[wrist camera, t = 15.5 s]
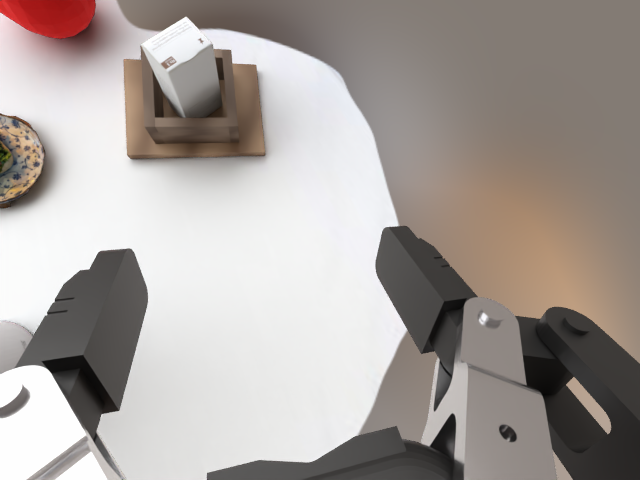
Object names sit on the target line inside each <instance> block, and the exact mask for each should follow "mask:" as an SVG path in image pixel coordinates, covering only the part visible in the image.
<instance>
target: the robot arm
mask: <svg viewBox="0 0 640 480" xmlns="http://www.w3.org/2000/svg"><path fill="white" fill-rule="evenodd" d="M376 273H377V276H378V278H379V280H380V282H381V284H382V285H383V287H384V289H385V291H386V293H387V294H388V296H389V298H390V300H391V301H392V303H393V305H394V307H395V308H396V310H397V312H398V314H399V315H400V317H401V319H402V321H403V323H404V324H405V326H406V328H407V330H408V331H409V333H410V335H411V337H412V338H413V340H414V342H415V344H416V345H417V347H418V349H419V351H420V352H421V354H423V353H428V352H433V351H435V352H436V354H437V356H438V359H437V361H436V365H435V372H434V380H433V388H432V394H431V401H430V409H429V415H428V421H427V424H426V427H425V430H424V433H423V437H422V440H421V443H419V442H415V441H410V440H406V439H401V436H400V433H399V431H398V428H397V426H395V427H391V428H387V429H383V430H379V431H375V432H371V433H367V434H363V435H359V436H355V437H353V438H352V439H350V440H348V441H347V442H345V443H343V444H342V445H340V446H338V447H337V448H335V449H334V450H332V451H330V452H329V453H327V454H325V455H324V456H322V457H320V458H319V459H317V460H315V461H313V462H309V463H303V462H283V461H264V460H258V461H254V462H250V463H246V464H242V465H238V466H234V467H230V468H226V469H222V470H218V471H214V472H210V473H207V480H557V475H556V469H555V463H554V457H553V451H554V452H555V454H556V455H557V457H558V458H559V460H560V461H561V463H562V464H563V465H564V467H565V468H566V470H567V471H568V473H569V474H570V476H571V477H572V479H573V480H640V364H639V363H638V362H637V361H636V360H635V359H634V358H633V357H632V356H631V355H629V354H628V353H627V352H626V351H625V350H624V349H623V348H622V347H621V346H619V345H618V344H617V343H616V342H615V341H614V340H613V339H612V338H611V337H610V336H608V335H607V334H606V333H605V332H604V331H603V330H602V329H601V328H600V327H598V326H597V325H596V324H595V323H594V322H593V321H592V320H590V319H589V318H587V317H586V316H584V315H582V314H580V313H578V312H576V311H574V310H571V309H568V308H563V307H552V308H549V309H548V310H547V311H546V312H545V313H544V315H543V316H542V318H541V319H536V318H528V317H520V316H514V314H513V313H512V312H511V311H510V310H509V309H508V308H506V307H505V306H503V305H502V304H500V303H498V302H496V301H494V300H491V299H488V298H482V297H478V296H477V295H476V294H475V293H474V292H473V291H472V290H471V288H470V287H469V286H468V285H467V284H466V283H465V282H464V281H463V279H462V278H461V277H460V276H459V275H458V274H457V272H456V271H455V270H454V269H453V268H452V267H450V265H449V263H448V262H447V261H446V260H445V259H443V258H442V255H441V254H440V253H439V252H438V251H437V250H436V249H435V247H434V246H432V245H431V244H429V243H427V242H426V241H424V240H422V239H421V238H420V239H418V238H417V237H416V236H415V235H414V233H413V232H412V231H411V230H410V229H409V228H408V227H407V226H397V227H386V228H384V230H383V232H382V235H381V240H380V244H379V249H378V253H377V258H376ZM147 303H148V292H147V287H146V284H145V281H144V278H143V276H142V273H141V270H140V268H139V265H138V262H137V259H136V257H135V254H134V252H133V251H132V249H118V250H107V251H100V252H99V253H98V254H97V256H96V258H95V260H94V262H93V264H92V265H91V267H90V269H89V270H80V271H79V272H78V273H77V274H75V275H74V276H73V277H72V278H71V279H70V280H68V281H67V282H66V283H65V284H64V285H63V287H62V288H61V290H60V292H59V293H58V295H57V297H56V298H55V303H52V305H51V307H50V309H49V310H48V312H47V314H48V315H47V316H45V317H44V319H43V320H42V322H41V324H40V326H39V327H38V329H37V331H36V332H35V334H34V336H32V335H31V334H30V332H28V331H27V330H26V329H25V328H24V327H22V326H20V325H18V324H16V323H12V322H8V321H0V480H127V479H126V477H125V476H124V474H123V473H122V471H121V469H120V468H119V466H118V464H117V463H116V461H115V459H114V458H113V456H112V454H111V453H110V451H109V449H108V448H107V446H106V444H105V443H104V441H103V440H102V438H101V436H100V435H99V433H98V432H97V427H98V424H99V421H100V417H101V414H104V413H109V412H115V411H119V410H120V406H121V402H122V399H123V395H124V391H125V387H126V384H127V380H128V376H129V372H130V369H131V365H132V361H133V357H134V353H135V350H136V346H137V342H138V338H139V335H140V331H141V327H142V323H143V320H144V316H145V312H146V308H147ZM573 377H575V378H576V379H577V380H578V381H579V383H580V384H581V385H582V386H583V387H584V388H585V389H586V390H587V392H588V393H589V394H590V395H591V396H592V397H593V398H594V399H595V400H596V402H597V403H598V404H599V405H600V406H601V407H602V408H603V410H604V411H605V412H606V414H607V415H608V417H609V419H610V422H611V432H610V433H609V434H607V433H606V432H605V431H604V430H603V428H602V427H601V426H600V425H599V424H598V422H597V421H596V420H595V419H594V418H593V417H592V415H591V414H590V413H589V412H588V411H587V409H586V408H585V407H584V406H583V405H582V404H581V402H580V401H579V400H578V399H577V398H576V396H575V395H574V394H573V393H572V392H571V390H570V389H569V388H568V387H567V386H566V384H567V383H568V382H569V381H570V380H571V379H572V378H573ZM552 449H553V451H552Z"/></svg>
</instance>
